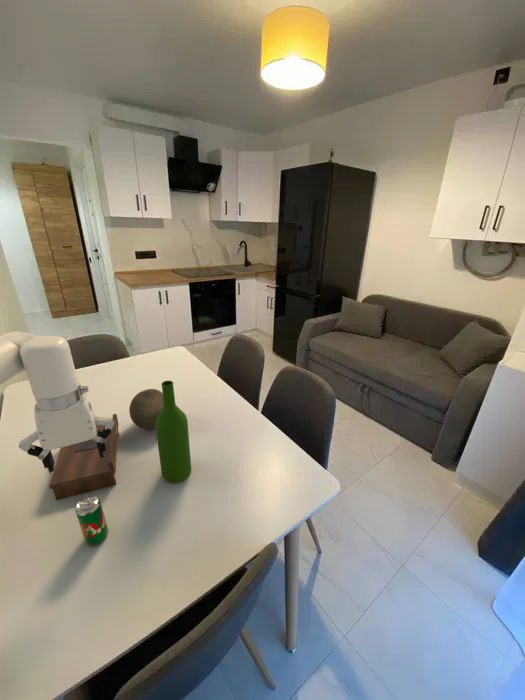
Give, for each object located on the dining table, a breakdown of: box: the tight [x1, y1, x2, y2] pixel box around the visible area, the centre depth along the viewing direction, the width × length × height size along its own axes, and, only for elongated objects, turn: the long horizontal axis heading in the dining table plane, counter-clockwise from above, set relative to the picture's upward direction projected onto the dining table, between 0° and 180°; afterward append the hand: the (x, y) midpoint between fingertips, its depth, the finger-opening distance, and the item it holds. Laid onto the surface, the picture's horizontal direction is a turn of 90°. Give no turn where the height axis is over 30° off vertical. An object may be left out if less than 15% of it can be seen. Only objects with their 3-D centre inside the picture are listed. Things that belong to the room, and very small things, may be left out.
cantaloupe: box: [128, 388, 164, 430], centre depth 108 cm, size 14×14×15 cm
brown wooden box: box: [48, 413, 120, 501], centre depth 92 cm, size 16×24×9 cm, turn 22°
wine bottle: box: [154, 380, 192, 484], centre depth 85 cm, size 9×9×32 cm
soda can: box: [75, 494, 109, 546], centre depth 70 cm, size 5×5×12 cm
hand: (77, 460), depth 65 cm, fingers open, 9 cm apart
